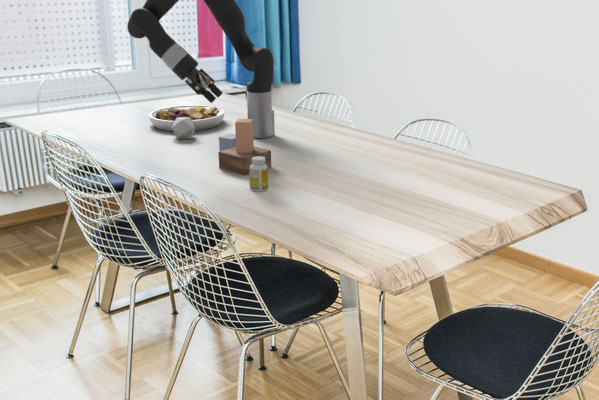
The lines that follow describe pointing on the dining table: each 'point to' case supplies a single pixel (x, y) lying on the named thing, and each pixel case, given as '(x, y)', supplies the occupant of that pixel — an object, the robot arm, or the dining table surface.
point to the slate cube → (227, 141)
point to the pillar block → (244, 135)
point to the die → (183, 128)
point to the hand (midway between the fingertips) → (217, 98)
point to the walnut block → (241, 159)
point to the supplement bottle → (258, 174)
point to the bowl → (199, 115)
